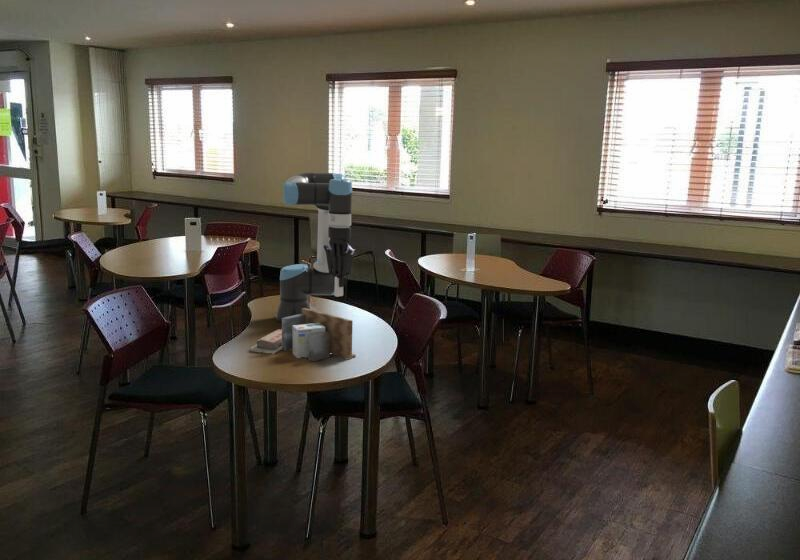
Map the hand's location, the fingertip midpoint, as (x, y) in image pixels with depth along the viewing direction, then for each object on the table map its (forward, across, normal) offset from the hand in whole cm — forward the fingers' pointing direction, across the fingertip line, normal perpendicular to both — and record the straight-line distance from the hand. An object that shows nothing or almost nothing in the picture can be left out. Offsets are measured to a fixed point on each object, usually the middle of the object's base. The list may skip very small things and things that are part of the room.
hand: (338, 295), depth 222 cm
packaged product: (+25, -32, -2) cm, 41 cm away
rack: (+24, -14, +4) cm, 28 cm away
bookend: (+24, -9, 0) cm, 26 cm away
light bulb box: (+25, -15, +1) cm, 29 cm away
